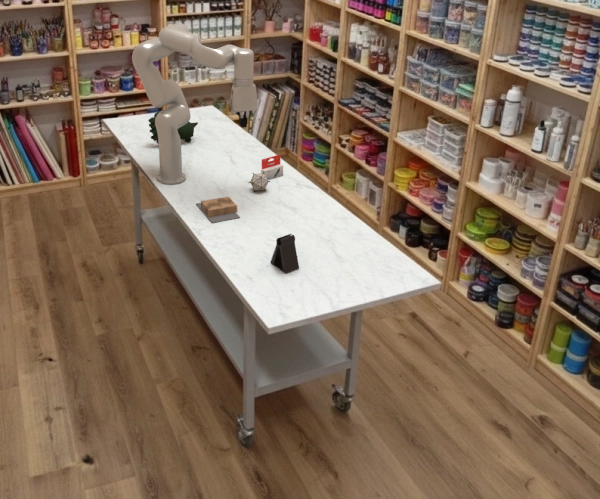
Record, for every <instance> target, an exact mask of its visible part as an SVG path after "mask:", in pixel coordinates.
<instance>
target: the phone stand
mask: <svg viewBox="0 0 600 499" xmlns="http://www.w3.org/2000/svg"><path fill="white" fill-rule="evenodd" d="M295 243H296V237H295V235H294V234H292V233H289V234H286V235H283V236H280V237H278V238H276V244H275V247H274V251H273V254H272V257H271V259H270V264H271V265H272V266H274V267H275V268H276V269H278V270H280V271H281V272H282V273H284V274H288V273H291V272H294V271H296V270H298V269H300V265H299V261H298V260H299V259H298V254H297V248H296V244H295Z"/></svg>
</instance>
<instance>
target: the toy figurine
mask: <svg viewBox="0 0 600 499" xmlns="http://www.w3.org/2000/svg"><path fill="white" fill-rule="evenodd" d="M161 111H162V110H161ZM161 111H157V112H155V113H154V114H153V117H150V118H149V119H147V121H148V127H149V128H150V129H149V132H150V133H151V134H152V135H150V139H151V140H153V142H156V143H157V144H158V134H157V129H156V125H155V118H156V116H157V115H158V113H159V112H161ZM197 125H199V122H191V121H189V122H188V123H187V124H185V125H184V126H182V127H180V128H178V134H179V136H180V139H181V141H184V142H185V143H190V142H191V141H192V137H194V132H195V127H197ZM158 145H159V144H158Z"/></svg>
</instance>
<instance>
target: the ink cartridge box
mask: <svg viewBox="0 0 600 499" xmlns="http://www.w3.org/2000/svg"><path fill="white" fill-rule="evenodd" d="M271 159H273V160H271ZM263 172H265V173H264V175H265V176H266V178H267V180H268V181H271V180H274V179H276V178H281V177H283V176H284V165H282V164H281V154H276V155H274V156H273V155H272V156H270V157H266V158H262V159H261V173H263Z"/></svg>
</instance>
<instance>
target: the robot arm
mask: <svg viewBox="0 0 600 499" xmlns="http://www.w3.org/2000/svg"><path fill="white" fill-rule="evenodd" d="M175 52H178V53H181V54H184V55H187V56H190V57H192V59H193V60H194V61H195V62H196V63H198V64H199V65H202V66H203V67H208V68H211V69H213V70H222V69H225V68H227V67H229V66H230V67H231V66H233V78H232V79H230V83H231V84H232V86H231V90H230V100H229V101H230V102H229V105H230V107H229V108H230V114H233V115H237V116H238V123H239V124H238V125H239V126H240V127H241V128H243V129H244V128H247V125H248V118H249V117H250V115H251V113H254V112H256V111H257V109H258V94H257V86H256V84H255V83H254V69H255V68H254V66H255V65H254V62H255V61H254V60H255V57H254V56H255V55H254V54H255V53H254V51H253V50H252V49H250V48H247V47H246V48H244V47H243V48H242V47H239V46H237V45H234V44H226V45H223V46H221V47H220V46H219V47H218V48H211V47H209V46H206V45H203V44H202V38H201V36H200V35H198V34H195V33H193V32H191V30H190V29H189V27H188V26H187V25H185V24H183V23H181V22H180V23H174V24H171V25H168V26H165V27H163V28H162V29H161V30H160V31H159V34H158V36H157V37H154V38H151V39H148V40H145V41H142V42H140V43H139V44H137V45H136V46H135V48H134V49H133V51H132V55H131V60H132V61H131V62H132V65H133V67H134V70H135V71H136V73H137V75H138V77H139V79H140V81H141V84H142V87H143V88H144V92H145V94H146V96H147V98H148V100H149V103H150V104H151V105H152V106H153V107H154V108H157V109H158V108H163V107H165V106H167V108H164V109H162V110H161V112H159V111H158V112H159V113H158V115H157V116H156V118H155V125H156V129H157V134H158V155H159V156H158V157H159V159H158V160H159V173H158V174H157V176H156V180H157V182H159V183H161V184H164V185H177V184H181V183H183V182H185V180H186V178H187V176H186V174H185V173H184V172H183V163H182V162H183V161H182V159H183V157H182V139H180V136H179V134H178V128H180V127H182V126H184V125H185V124H187V123H188V122H190V120H191V116H192V115H191V111H190V108H189V105H188V102H187V101H186V97H185V95H184V93H183V90H182V88H181V86H180V85H179V84H178V83H177V81H175V80H173V79H164V78H163V77H162V73H161V71H160V70H159V69H158V67H157V66H156V65H154V62H156V61H158V60H159V61H160V60H162V59H165V58H167V57H169V56H171V55H172V54H174V53H175Z"/></svg>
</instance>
